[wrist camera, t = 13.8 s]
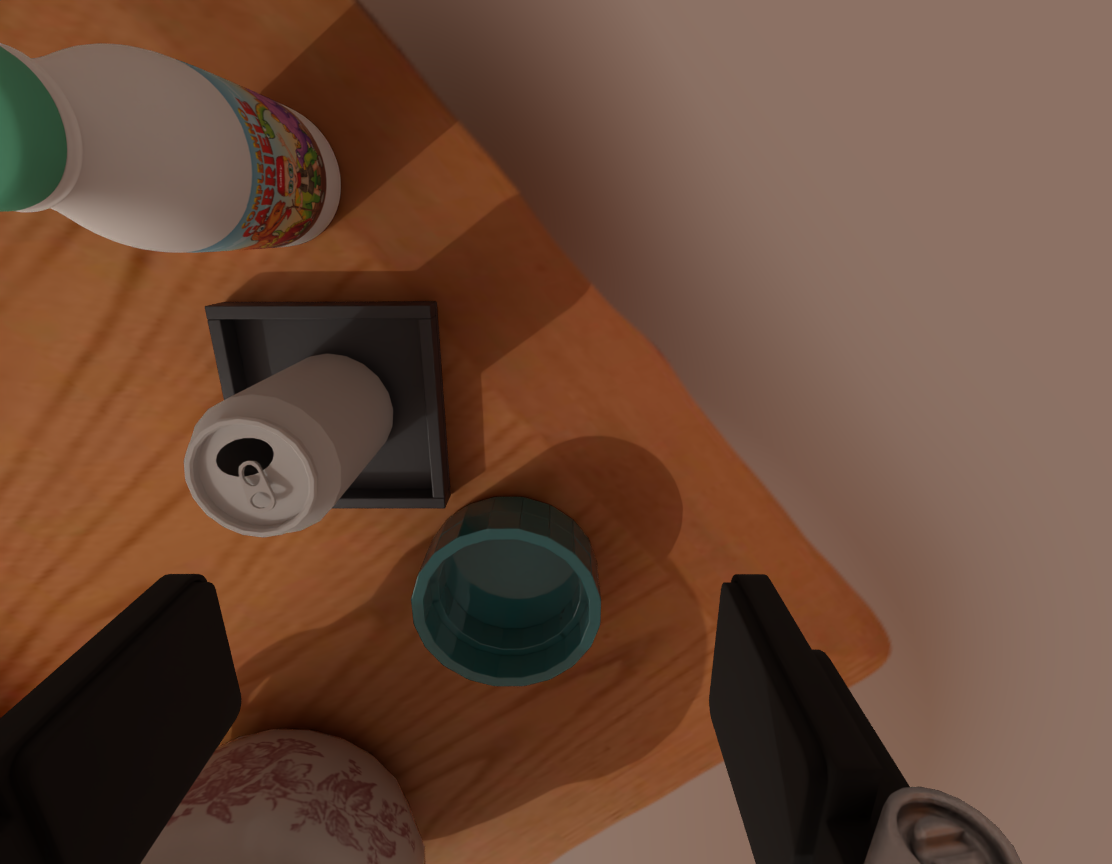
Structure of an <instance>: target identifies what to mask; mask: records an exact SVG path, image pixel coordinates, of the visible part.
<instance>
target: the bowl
mask: <svg viewBox="0 0 1112 864" xmlns="http://www.w3.org/2000/svg"><path fill="white" fill-rule="evenodd" d="M411 603H412V612H413V622H414V626H415V628H416V630H417V632H418V634H419V636H420V638H421V640H422V642H423V644H424V646H425V647H426V649H427V650H428V651H429V652H430V653H431V654H432V655H433V656H434V657H435V658H436V659H437V660H438V661H439V662H440V663H441V664H442V665H443V666H445V667H447V668H448V669H450V670H452V671H454V672H456V673H457V674H459V675H461V676H463V677H465V678H466V679H468V680H472V681H476V682H480V683H483V684H487V685H491V686H527V685H531V684H535V683H539V682H543V681H546V680H550V679H552V678H554V677H555V676H557V675H559V674H561V673H562V672H564V671H566V670H568V669H569V668H571V667H573V666H574V665H575V664H576V663H577V661H578V660H579V659H580V658H581V657H582V656H583V655H584V654H585V653H586V652H587V651H588V649H589V648H590V647H591V645H592V643H593V641H594V638H595V636H596V634H597V631H598V629H599V626H600V621H601V595H600V586H599V577H598V568H597V561H596V558H595V555H594V552H593V549H592V546H591V544H590V541H589V539H588V537H587V536H586V535H585V534H584V532H583V531H582V530H581V529H580V527H579V526H578V525H577V524H576V522H575V521H574V520H572V519H571V518H570V517H568V516H567V515H565V514H564V513H562V512H561V511H559V510H557V509H556V508H554V507H553V506H551V505H549V504H546V503H542V502H539V501H535V500H532V499H529V498H525V497H493V498H489V499H486V500H482V501H479V502H476V503H472V504H469V505H467V506H466V507H464V508H463V509H461V510H460V511H459V512H457V513H456V514H454V515H453V516H451V517H450V518H448V519H447V520H446V521H445V523H444V524H443V526H442V527H441V528H440V530H439V531H438V532H437V534H436V535H435V536H434V538H433V539H432V542H431V544H430V546H429V549H428V551H427V554H426V556H425V559H424V561H423V564H422V566H421V568H420V571H419V573H418V576H417V580H416V583H415V587H414V590H413V594H412V599H411Z"/></svg>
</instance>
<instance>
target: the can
mask: <svg viewBox="0 0 1112 864" xmlns="http://www.w3.org/2000/svg"><path fill="white" fill-rule="evenodd" d="M392 425H393V407H392V403H391V400H390V396H389V393H388V391H387V390H386V388H385V386H384V385H383V383H382V382H381V380H380V379H379V377H378V376H377V375H376V374H374V373H373V372H372V371H371V370H370V369H369V368H367V367H366V366H365V365H364V364H362V363H360V362H358V361H356V360H353V359H351V358H349V357H347V356H342V355H335V354H321V355H316V356H310V357H308V358H306V359H304V360H302V361H300V362H298V363H296V364H294V365H292V366H290V367H288V368H286V369H284V370H282V371H280V372H278V373H276V374H274V375H272V376H270V377H268V378H266V379H264V380H263V381H261V382H259V383H257V384H255V385H253V386H251V387H249V388H247V389H245V390H243V391H241V392H239V393H237V394H235V395H233V396H231V397H229V398H227V399H226V400H224V401H222V402H220V403H218V404H217V405H215V406H213V407H211V408H210V409H208V410H207V412H206V413H205V414H204V415H203V417H202V418H201V419H200V420H199V422H198V423H197V424H196V425H195V428H194V431H193V434H192V438H191V441H190V443H189V445H188V448H187V452H186V455H185V459H184V469H185V480H186V482H187V485H188V487H189V489H190V492H191V494H192V496H193V499H194V500H195V501H196V502H197V503H198V505H199V506H200V507H201V508H202V510H203V511H204V512H205V513H206V514H207V515H208V516H209V517H211V518H212V519H213V520H215V521H216V522H218V523H219V524H220V525H222V526H223V527H225V528H227V529H230V530H232V531H235V532H237V533H240V534H242V535H249V536H256V537H269V536H276V535H282V534H284V533H288V532H295V531H301V530H303V529H305V528H307V527H309V526H311V525H313V524H315V523H317V522H319V521H320V520H321V519H322V518H323V517H324V516H325V515H326V514H327V513H328V511H329V510H330V509H331V508H332V507H333V506H334V505H335V504H336V502H337V501H338V500H339V499H340V497H341V496H342V495H343V494H344V493H345V491H346V490H347V489H348V488H349V486H350V485H351V484H352V483H353V482H354V480H355V479H356V478H357V477H358V475H359V474H360V473H361V472H362V471H363V469H364V468H365V467H366V466H367V464H368V463H369V462H370V461H371V460H372V458H373V457H374V456H375V455H376V453H377V452H378V451H379V450H380V449H381V447H382V446H383V445H384V444H385V442H386V441H387V438H388V436H389V434H390V431H391V429H392Z"/></svg>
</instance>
